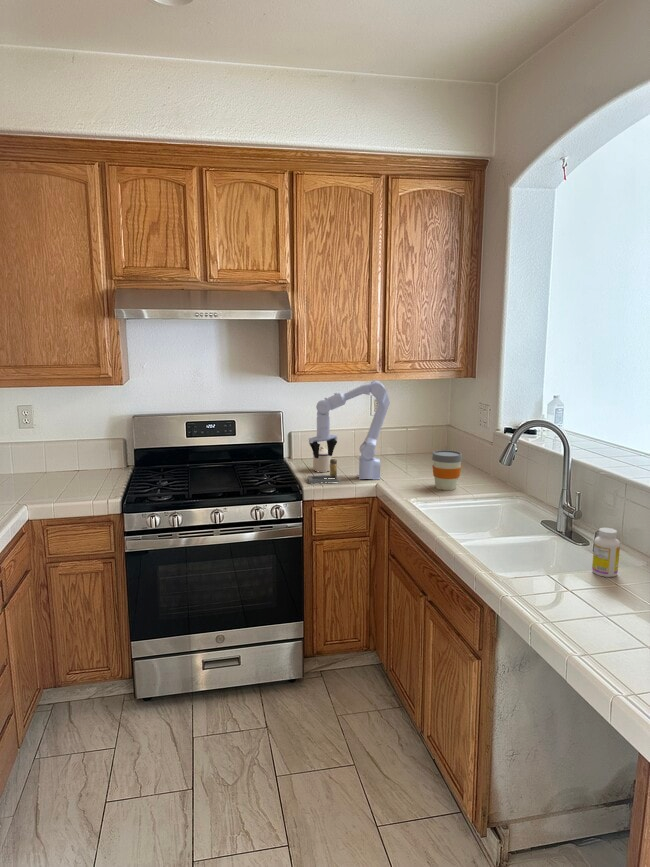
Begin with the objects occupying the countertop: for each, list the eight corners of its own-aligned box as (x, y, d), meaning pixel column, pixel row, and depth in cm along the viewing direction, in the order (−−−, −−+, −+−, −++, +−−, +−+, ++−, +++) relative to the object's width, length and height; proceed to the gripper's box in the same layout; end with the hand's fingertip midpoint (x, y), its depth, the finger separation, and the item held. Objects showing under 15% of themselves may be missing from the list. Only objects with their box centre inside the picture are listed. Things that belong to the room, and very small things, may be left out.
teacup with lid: (334, 472, 289) (334, 447, 286) (316, 473, 286) (316, 449, 284) (326, 466, 300) (326, 443, 298) (308, 467, 297) (308, 444, 295)
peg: (336, 476, 281) (336, 459, 280) (337, 477, 278) (337, 460, 277) (329, 476, 281) (329, 459, 279) (330, 477, 278) (330, 460, 276)
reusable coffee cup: (439, 492, 256) (440, 457, 253) (426, 484, 267) (427, 450, 265) (466, 490, 259) (467, 455, 256) (452, 482, 271) (453, 449, 268)
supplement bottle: (610, 568, 178) (614, 526, 175) (621, 577, 171) (626, 534, 169) (587, 568, 177) (591, 526, 175) (598, 578, 171) (602, 534, 169)
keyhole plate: (336, 478, 277) (336, 475, 276) (338, 483, 269) (338, 479, 269) (307, 479, 275) (307, 475, 275) (309, 483, 267) (309, 480, 267)
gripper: (330, 424, 281) (330, 453, 283) (304, 427, 272) (305, 457, 275) (340, 426, 275) (340, 455, 278) (313, 429, 267) (314, 460, 269)
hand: (323, 456), depth 276 cm, fingers open, 7 cm apart
